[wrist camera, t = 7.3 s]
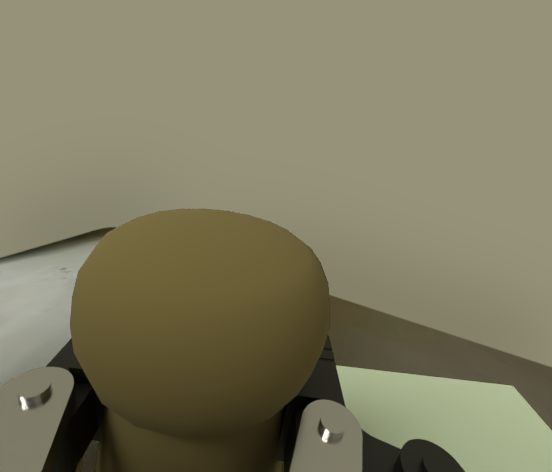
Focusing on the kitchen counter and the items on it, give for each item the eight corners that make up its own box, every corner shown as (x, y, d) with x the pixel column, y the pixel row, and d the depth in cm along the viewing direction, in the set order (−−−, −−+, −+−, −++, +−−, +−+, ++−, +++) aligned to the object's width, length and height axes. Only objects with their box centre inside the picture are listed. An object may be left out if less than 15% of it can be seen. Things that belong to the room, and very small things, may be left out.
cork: (193, 415, 14) (216, 178, 10) (308, 516, 11) (404, 242, 7) (39, 555, 9) (-41, 205, 5) (171, 796, 6) (230, 439, 2)
